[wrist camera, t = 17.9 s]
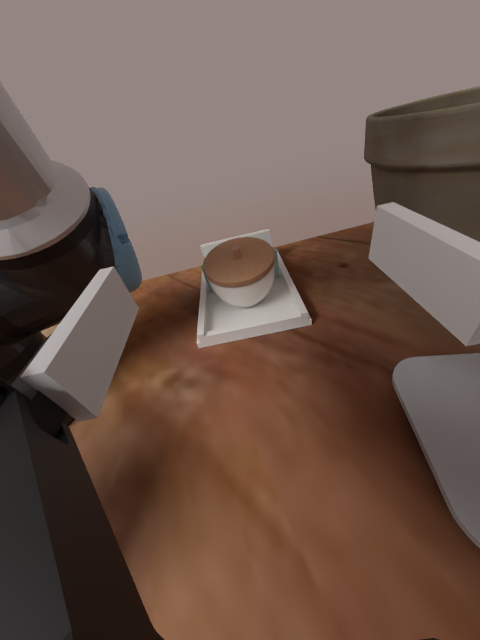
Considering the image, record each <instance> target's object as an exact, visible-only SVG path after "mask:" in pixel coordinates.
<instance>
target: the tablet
mask: <svg viewBox="0 0 480 640" xmlns="http://www.w3.org/2000/svg"><path fill="white" fill-rule="evenodd" d="M392 384H393V387H394V389H395V391H396V394H397V396H398V398H399V400H400V402H401V405H402V407H403V409H404V411H405V413H406V416H407V418H408V420H409V422H410V425H411V427H412V429H413V431H414V433H415V436H416V438H417V440H418V442H419V444H420V447H421V449H422V451H423V453H424V455H425V458H426V460H427V462H428V464H429V466H430V469H431V471H432V473H433V475H434V478H435V480H436V482H437V484H438V486H439V489H440V491H441V493H442V495H443V497H444V500H445V502H446V504H447V506H448V508H449V510H450V512H451V514H452V516H453V518H454V519H455V521H456V522H457V524H458V525H459V527H460V528H461V529H462V530H463V532H464V533H465V534H466V535H467V536H468V537H469V538H470V539H471V540H472V541H473V543H474V544H475V545H476V546H478V547H479V548H480V353H470V354H453V355H437V356H421V357H411V358H407V359H405V360H402V361H401V362H399V363H398V364H397V365H396V367H395V368H394V371H393V375H392Z"/></svg>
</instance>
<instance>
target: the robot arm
mask: <svg viewBox="0 0 480 640" xmlns="http://www.w3.org/2000/svg"><path fill="white" fill-rule="evenodd" d="M368 259H369V260H371V261H372V262H373V263H374V264H375V265H376V266H377V267H378V268H379V269H381V270H382V271H383V272H384V273H385V274H386V275H387V276H388V277H389V278H391V279H392V280H393V281H394V282H395V283H396V284H397V285H398V286H399V287H401V288H402V289H403V290H404V291H405V292H406V293H407V294H408V295H409V296H411V297H412V298H413V299H414V300H415V301H416V302H417V303H418V304H420V305H421V306H422V307H423V308H424V309H425V310H426V311H427V312H428V313H430V314H431V315H432V316H433V317H434V318H435V319H436V320H437V321H438V322H440V323H441V324H442V325H443V326H444V327H445V328H446V329H447V330H448V331H450V332H451V333H452V334H453V335H454V336H455V337H456V338H457V339H458V340H460V341H461V342H462V343H463V344H464V345H465V346H470V345H475V344H480V241H478V240H474V239H472V238H470V237H468V236H465V235H463V234H461V233H459V232H457V231H455V230H453V229H450V228H448V227H446V226H444V225H442V224H440V223H437V222H435V221H433V220H431V219H429V218H427V217H425V216H422V215H420V214H418V213H416V212H414V211H412V210H409V209H407V208H405V207H403V206H401V205H399V204H396V203H394V202H391V203H387V204H383V205H378V206H377V208H376V215H375V221H374V227H373V233H372V239H371V246H370V252H369V258H368ZM141 281H142V275H141V271H140V267H139V264H138V260H137V257H136V254H135V252H134V249H133V246H132V244H131V242H130V240H129V238H128V234H127V232H126V229H125V226H124V223H123V221H122V219H121V216H120V214H119V212H118V210H117V208H116V206H115V203H114V201H113V200H112V198H111V196H110V194H109V193H108V192H107V190H106V189H104V188H95V187H91V188H89V187H88V185H87V183H86V182H85V180H84V178H83V177H82V176H81V175H80V174H79V173H78V172H77V171H75V170H74V169H72V168H70V167H68V166H66V165H64V164H61V163H58V162H55V161H52V160H51V159H50V157H49V156H48V154H47V153H46V151H45V150H44V148H43V147H42V145H41V143H40V142H39V140H38V139H37V137H36V136H35V134H34V133H33V131H32V130H31V128H30V127H29V125H28V124H27V122H26V120H25V119H24V117H23V116H22V114H21V113H20V111H19V110H18V108H17V107H16V105H15V104H14V102H13V101H12V99H11V97H10V96H9V94H8V93H7V91H6V90H5V88H4V87H3V85H2V83H1V82H0V640H164V639H163V638H162V637H161V636H160V635H159V634H158V633H157V632H156V630H155V629H154V627H153V625H152V623H151V621H150V619H149V617H148V614H147V612H146V610H145V607H144V605H143V603H142V600H141V598H140V595H139V593H138V591H137V588H136V586H135V583H134V581H133V579H132V576H131V574H130V572H129V569H128V567H127V564H126V562H125V560H124V557H123V555H122V552H121V550H120V548H119V545H118V543H117V540H116V538H115V536H114V533H113V531H112V529H111V526H110V524H109V521H108V519H107V517H106V514H105V512H104V509H103V507H102V505H101V502H100V500H99V498H98V495H97V493H96V490H95V488H94V486H93V483H92V481H91V478H90V476H89V474H88V471H87V469H86V466H85V464H84V462H83V459H82V457H81V455H80V452H79V450H78V447H77V445H76V443H75V440H74V438H73V435H72V433H71V431H70V428H69V427H68V426H67V425H68V424H69V423H70V422H71V421H72V420H73V419H75V420H77V421H83V420H88V419H93V418H98V415H99V413H100V410H101V407H102V405H103V402H104V400H105V397H106V394H107V392H108V389H109V386H110V384H111V381H112V378H113V376H114V373H115V371H116V368H117V365H118V363H119V360H120V357H121V355H122V352H123V350H124V347H125V344H126V342H127V339H128V336H129V334H130V331H131V328H132V326H133V323H134V321H135V318H136V315H137V313H138V310H139V308H138V306H137V305H136V303H135V301H134V300H133V298H132V296H131V295H130V293H131V292H133V291H135V290H136V289H137V288H138V287H139V286H140V284H141ZM59 323H60V324H59ZM57 324H59V325H58V327H57V328H56V329H55V331H54V332H53V333H52V334H51V335H50V336H48V337H45V336H44V335H43V334H42V333H41V332H40V331H42V330H44V329H47V328H49V327H52V326H54V325H57ZM422 640H438V639H435V638H430V639H422Z"/></svg>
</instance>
